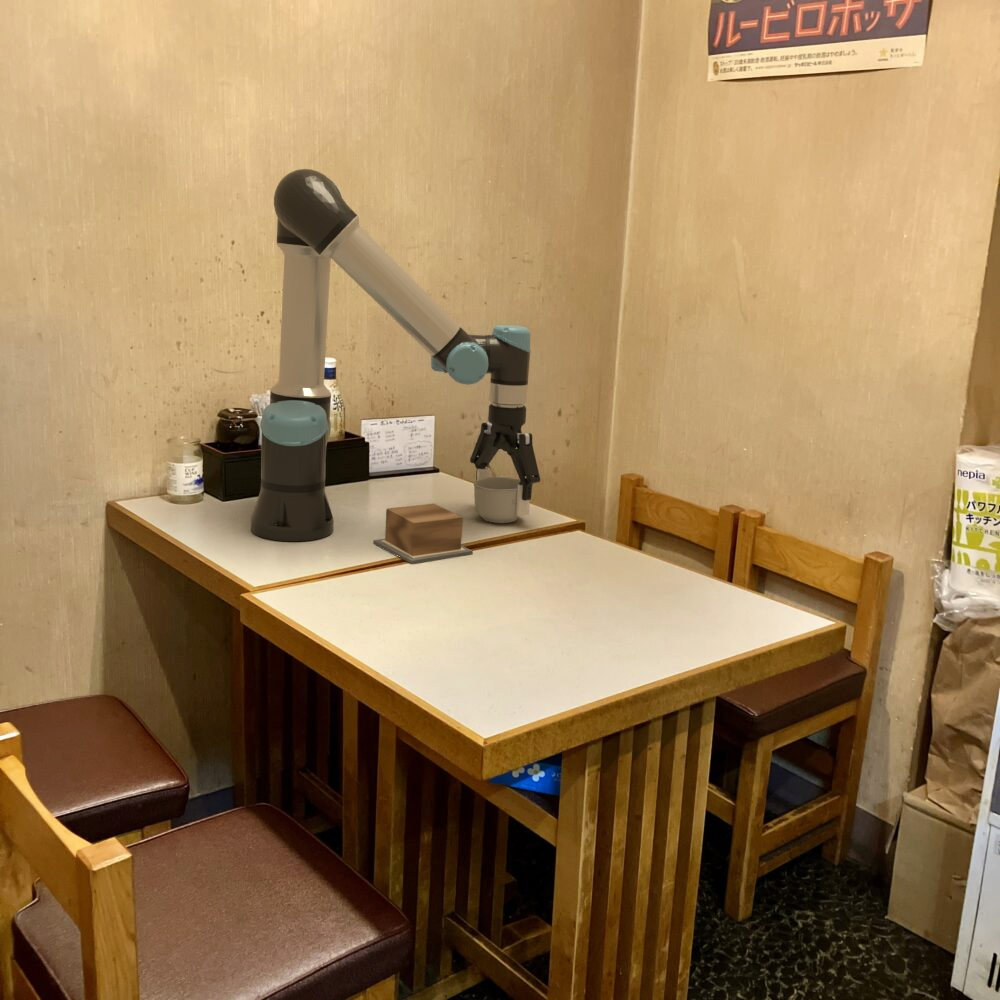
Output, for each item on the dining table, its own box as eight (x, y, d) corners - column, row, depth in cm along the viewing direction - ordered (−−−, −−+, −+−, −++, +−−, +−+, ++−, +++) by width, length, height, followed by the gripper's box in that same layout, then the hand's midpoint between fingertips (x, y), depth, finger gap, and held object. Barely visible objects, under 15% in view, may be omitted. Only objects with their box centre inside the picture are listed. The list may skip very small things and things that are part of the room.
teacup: (519, 529, 197) (522, 490, 195) (466, 523, 199) (468, 484, 197) (531, 512, 211) (534, 475, 209) (481, 506, 213) (483, 469, 211)
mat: (373, 543, 182) (373, 539, 182) (432, 534, 190) (432, 531, 190) (411, 564, 172) (411, 560, 172) (472, 554, 180) (472, 550, 180)
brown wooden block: (385, 540, 182) (386, 508, 181) (432, 534, 188) (433, 503, 186) (412, 556, 174) (414, 523, 173) (460, 549, 180) (462, 517, 178)
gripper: (562, 413, 192) (555, 519, 197) (485, 393, 211) (480, 490, 216) (532, 416, 187) (525, 524, 193) (456, 395, 206) (452, 494, 212)
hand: (501, 506), depth 204 cm, fingers open, 13 cm apart
